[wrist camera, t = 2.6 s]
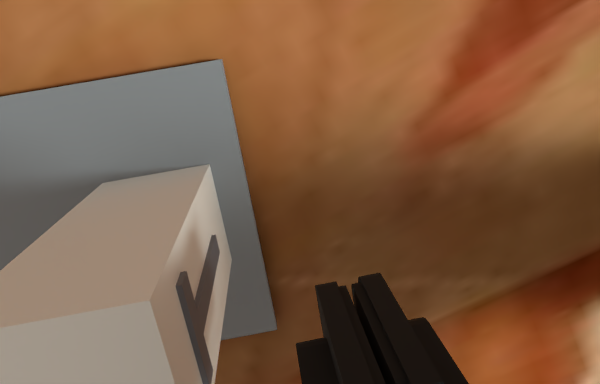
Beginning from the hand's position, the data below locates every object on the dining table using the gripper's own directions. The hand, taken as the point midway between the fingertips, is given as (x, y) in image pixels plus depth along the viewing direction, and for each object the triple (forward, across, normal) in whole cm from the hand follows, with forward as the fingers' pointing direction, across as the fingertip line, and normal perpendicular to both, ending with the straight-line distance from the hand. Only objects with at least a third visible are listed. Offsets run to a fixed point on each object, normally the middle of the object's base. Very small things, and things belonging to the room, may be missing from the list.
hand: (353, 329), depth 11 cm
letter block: (+11, +7, 0) cm, 13 cm away
